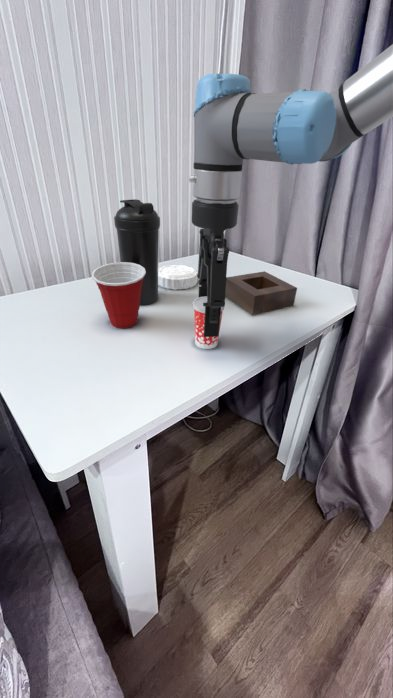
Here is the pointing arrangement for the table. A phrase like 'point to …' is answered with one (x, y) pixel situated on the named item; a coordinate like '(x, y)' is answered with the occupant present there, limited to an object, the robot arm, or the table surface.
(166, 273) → the mooncake
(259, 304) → the holder
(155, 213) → the water bottle
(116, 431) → the table surface
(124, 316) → the plastic cup
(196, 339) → the beverage cup
